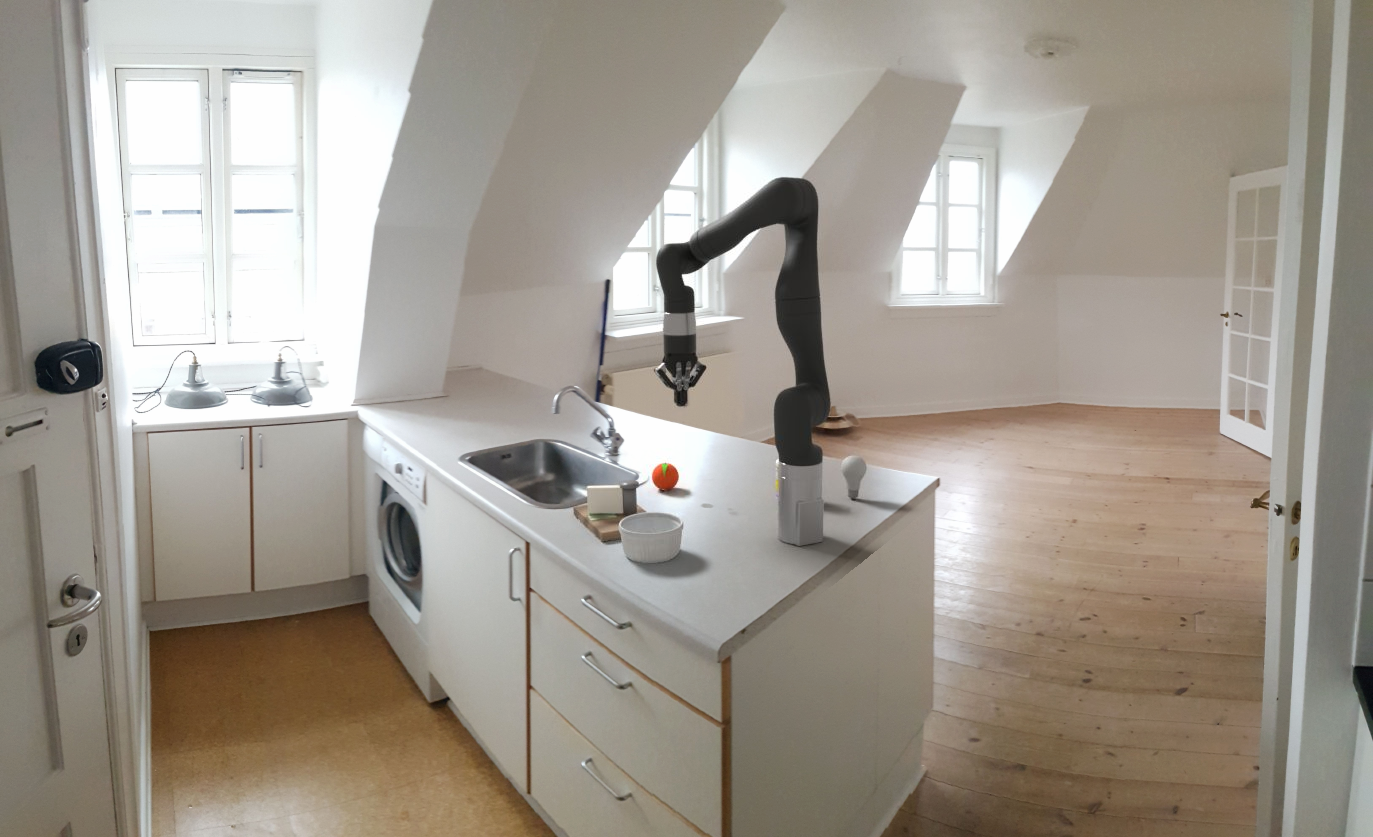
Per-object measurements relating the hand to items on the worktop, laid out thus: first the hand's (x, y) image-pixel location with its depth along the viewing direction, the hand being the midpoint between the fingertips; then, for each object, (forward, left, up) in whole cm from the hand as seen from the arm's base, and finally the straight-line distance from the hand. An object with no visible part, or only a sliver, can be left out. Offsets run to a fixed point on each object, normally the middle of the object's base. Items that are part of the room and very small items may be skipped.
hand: (680, 405), depth 202 cm
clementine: (+15, -2, -25) cm, 29 cm away
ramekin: (-24, +18, -25) cm, 39 cm away
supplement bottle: (-6, -26, -25) cm, 37 cm away
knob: (-2, +18, -23) cm, 29 cm away
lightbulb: (-13, -40, -25) cm, 49 cm away
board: (-3, +18, -25) cm, 31 cm away
